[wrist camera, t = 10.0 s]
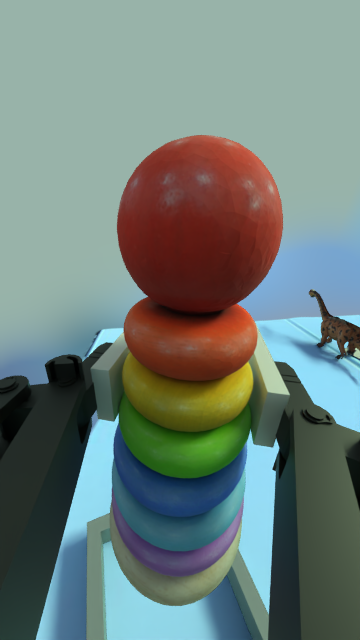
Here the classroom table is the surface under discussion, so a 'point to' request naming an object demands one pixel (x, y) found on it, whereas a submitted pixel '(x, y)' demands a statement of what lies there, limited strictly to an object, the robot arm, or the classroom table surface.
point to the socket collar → (96, 610)
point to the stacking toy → (188, 361)
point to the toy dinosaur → (337, 330)
